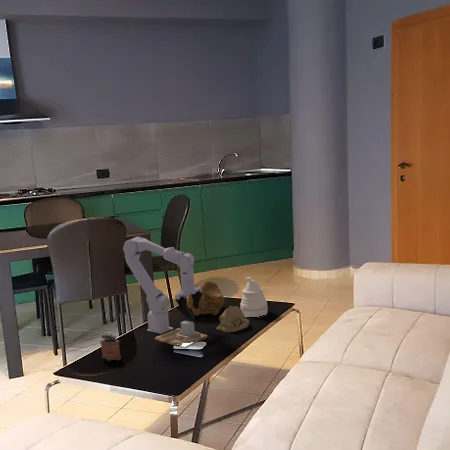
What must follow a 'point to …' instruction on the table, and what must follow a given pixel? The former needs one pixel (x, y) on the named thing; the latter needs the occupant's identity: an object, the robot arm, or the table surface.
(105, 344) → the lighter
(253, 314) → the honey pot
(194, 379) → the table surface
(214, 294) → the rough brown rock
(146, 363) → the table surface
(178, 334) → the birch board
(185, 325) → the peg
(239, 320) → the ceramic model
